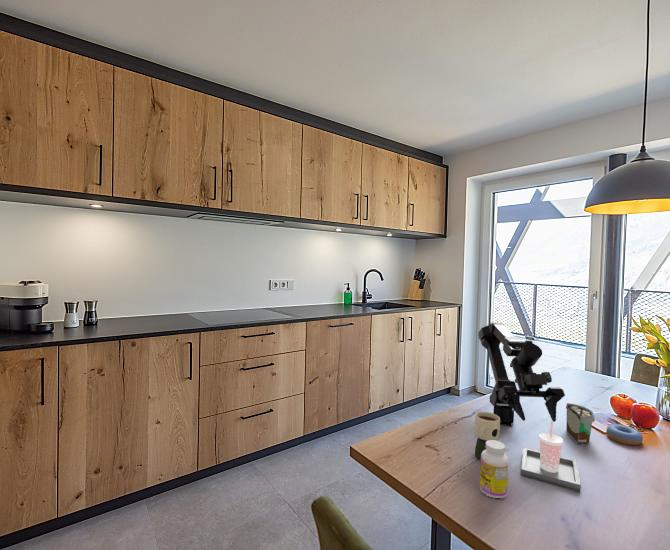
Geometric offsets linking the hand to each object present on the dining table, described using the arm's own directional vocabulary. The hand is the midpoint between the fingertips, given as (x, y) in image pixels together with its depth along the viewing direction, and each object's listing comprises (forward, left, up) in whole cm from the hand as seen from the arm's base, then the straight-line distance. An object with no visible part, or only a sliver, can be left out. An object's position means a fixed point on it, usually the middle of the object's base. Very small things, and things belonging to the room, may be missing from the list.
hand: (539, 420), depth 114 cm
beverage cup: (+3, -6, -11) cm, 13 cm away
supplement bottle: (-10, -25, -12) cm, 29 cm away
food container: (+13, +23, -12) cm, 29 cm away
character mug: (-14, -8, -12) cm, 20 cm away
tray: (+3, -6, -12) cm, 14 cm away
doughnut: (+26, +31, -12) cm, 42 cm away
